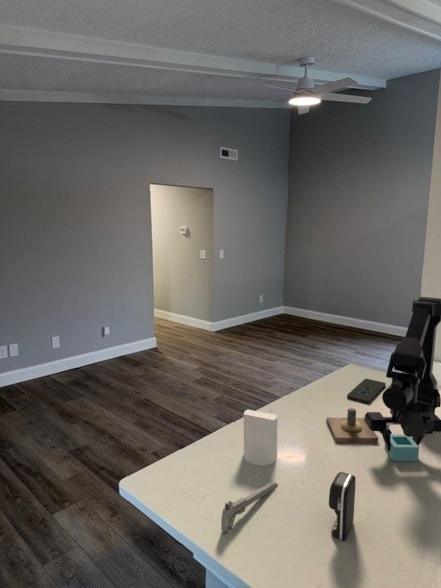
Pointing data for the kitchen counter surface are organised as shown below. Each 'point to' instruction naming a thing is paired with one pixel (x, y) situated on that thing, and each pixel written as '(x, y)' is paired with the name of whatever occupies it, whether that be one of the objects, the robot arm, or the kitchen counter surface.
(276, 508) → the kitchen counter surface
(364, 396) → the smart home device
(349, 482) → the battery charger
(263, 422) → the white upright block
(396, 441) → the collar
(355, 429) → the stand
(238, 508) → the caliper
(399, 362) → the robot arm
